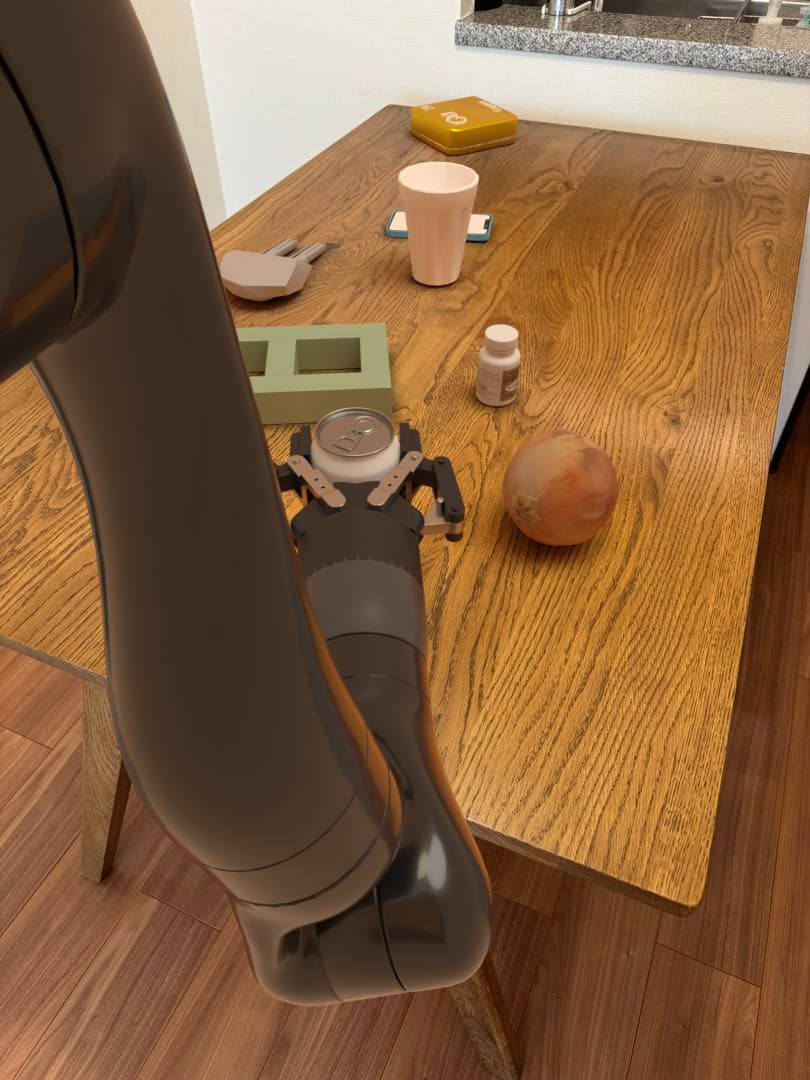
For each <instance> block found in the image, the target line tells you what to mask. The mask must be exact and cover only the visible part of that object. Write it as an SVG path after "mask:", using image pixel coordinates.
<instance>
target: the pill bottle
mask: <svg viewBox="0 0 810 1080" xmlns="http://www.w3.org/2000/svg"><path fill="white" fill-rule="evenodd" d="M518 344H519V331H518V330H517V329H516V328H515V327H514V326H511V325H508V324H501V323H500V324H493V325H490V326H488V327H486V329H485V331H484V339H483V346H482V347H481V349H480V350H479V351H478V358H477V359H478V360H477V372H476V373H477V374H476V383H475V384H476V385H475V396H476V398H477V400H478V401H479V402H481V403H482V404H484V405H487V406H491V407H505V406H508V405H510V404H512V403H513V402H515V399H516V397H517V390H518V383H519V375H520V368H521V358H522V357H521V355H522V354H521V352H520V350H519V349H518Z"/></svg>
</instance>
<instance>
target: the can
mask: <svg viewBox="0 0 810 1080" xmlns="http://www.w3.org/2000/svg"><path fill="white" fill-rule="evenodd" d="M392 420H393V419H390V418H389V417H387V416H386V415H385V414H383V413H381V412H379V411H376V410H373V409H369V408H362V407H350V408H343V409H339V410H336V411H333V412H331V413H329V414H327V415H325V416H324V417H323V418H321V419H320V420H319V422H316V424H315V426H314V431H313V435H314V437H313V438H312V444H311V448H310V458H311V466H312V468H313V469H314V470H315V469H319V470H320V472H321V473H322V474H323V475H324V476H325V477H326V479H327V480H328V481H329V482H330V483H331V484H332V486H333V482H348V483H355V484H357V483H362V482H367V481H380V483H381V482H382V480H383V479H384V478H385V476H386V475H387V474H388V472H389V471H390V470H391V468H392V467H393V466H396V467H397V466H398V465H399V464H400V462H401V445H400V442H399V436H398V435H397V434H396V426H395V424H394V422H393V421H392Z"/></svg>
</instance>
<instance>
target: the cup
mask: <svg viewBox="0 0 810 1080" xmlns="http://www.w3.org/2000/svg"><path fill="white" fill-rule="evenodd" d="M479 180H480V176H479V174H478V173H477V172H476V171H475V170H474V169H473V168H471V167H468V166H466V165H463V164H460V163H454V162H450V161H449V162H448V161H428V162H427V161H426V162H419V163H416V164H413V165H409V166H407V167H406V168H404V169H402V170H401V171H400V172H399V173H398V177H397V184H398V192H399V193H398V194H399V195H400V199H401V200H402V203H403V208H404V209H403V211H405V217H406V225H407V233H408V238H407V239H408V240H407V241H408V246H409V248H408V249H409V254H410V255H409V256H410V261H411V262H410V263H411V270H412V271H411V272H412V274H411V276H412V277H413V279H414V280H415V281H417V282H419V283H421V284H424V285H428V286H443V285H444V286H445V285H449V284H451V283H454V282H456V281H457V280H458V279H459V277H460V272H461V266H462V262H463V257H464V251H465V247H466V241H467V240H466V237H467V232H468V228H469V223H470V218H471V213H473V207H474V202H475V199H476V197H477V193H478V187H479Z"/></svg>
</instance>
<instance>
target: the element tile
mask: <svg viewBox="0 0 810 1080" xmlns="http://www.w3.org/2000/svg"><path fill="white" fill-rule="evenodd" d="M410 118H411V119H410V132H411V135H412V136H413V137H415V138H417V139H419V140H421V141H422V142H423V143H425V144H427V145H429V146H431V147H432V148H434V149H436V150H438V151H439V152H441V153H442V154H445V155H446V156H451V157H453V156H455V157H457V156H463V155H466V154H471V153H478V152H481V151H486V150H490V149H495V148H500V147H504V146H509V145H512V144H514V143H515V142H516V139H517V136H516V137H515V138H513V139H509V140H505V141H500V142H495V143H491V144H486V145H481V146H477V147H472V148H467V149H462V150H447V149H444V148H442V147H441V146H439V145H437V144H435V143H434V142H432V141H430V140H428V139H427V138H429V139H431V140H433V141H435V142H437V143H439V144H441V145H442V146H444V147H447V148H453V149H454V148H462V147H467V146H471V145H477V144H481V143H485V142H489V141H493V140H497V139H501V138H504V137H508V136H512V135H515V134H516V135H517V130H518V120H519V117H518V115H516V114H514V113H513V112H511V111H508V110H506V109H504V108H502V107H500V106H498V105H496V104H493V103H492V102H490V101H487V100H486V99H483V98H481V97H479V96H476V95H470V96H465V97H460V98H454V99H448V100H443V101H439V102H438V101H437V102H433V103H427V104H422V105H417V106H413V107H412V108H411V111H410ZM411 128H412V129H411ZM413 130H414V131H416V132H417V133H416V132H414V131H413ZM418 133H419V134H418ZM420 134H422V135H424V136H425V137H427V138H425V137H423V136H421V135H420Z"/></svg>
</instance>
